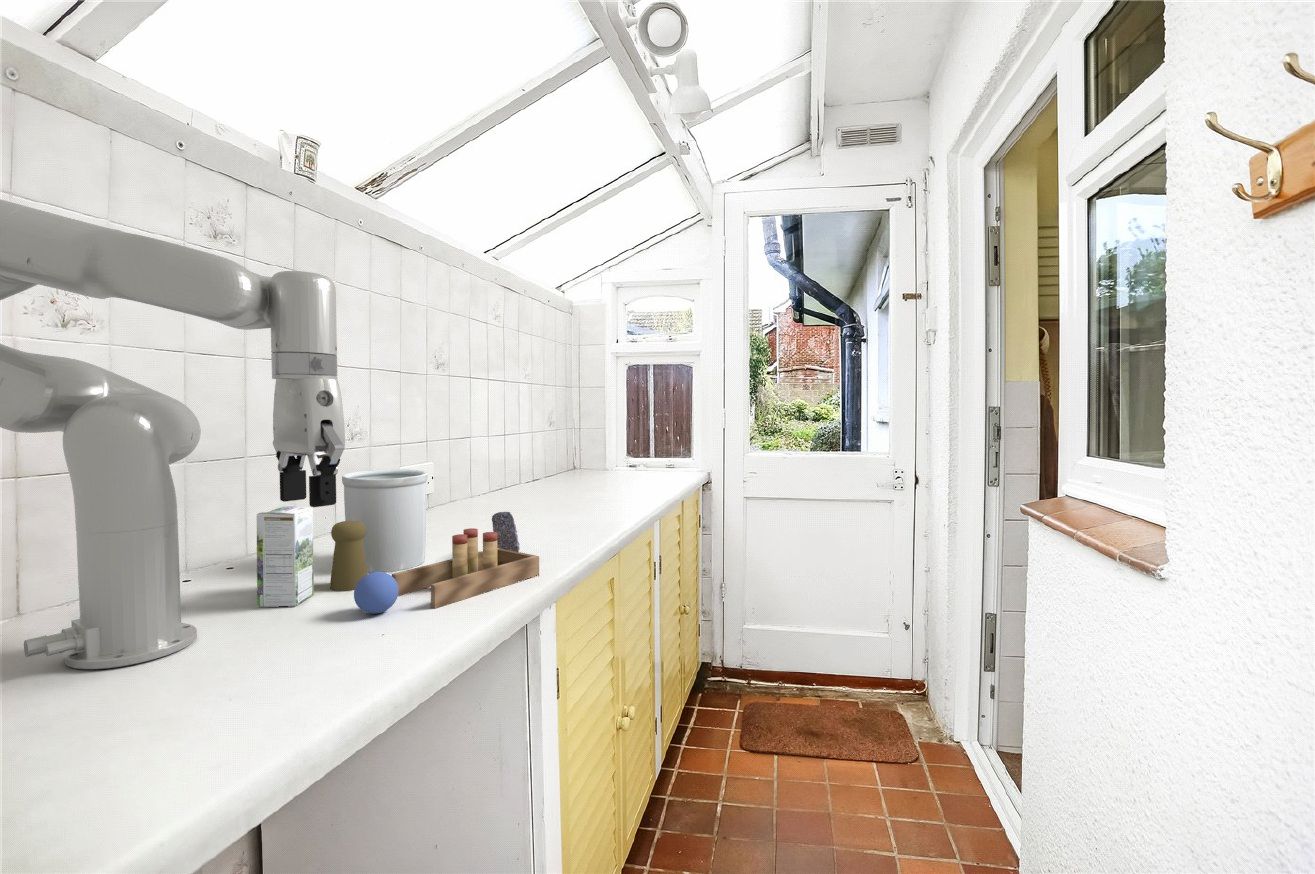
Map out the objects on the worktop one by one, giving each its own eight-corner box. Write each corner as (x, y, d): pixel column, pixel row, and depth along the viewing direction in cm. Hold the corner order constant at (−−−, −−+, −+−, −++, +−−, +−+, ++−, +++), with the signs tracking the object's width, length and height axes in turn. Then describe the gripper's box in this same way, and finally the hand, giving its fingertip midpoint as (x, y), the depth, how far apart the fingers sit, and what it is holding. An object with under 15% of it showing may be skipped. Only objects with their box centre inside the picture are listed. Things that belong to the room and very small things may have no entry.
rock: (522, 564, 119) (522, 513, 118) (493, 567, 117) (493, 514, 116) (514, 550, 130) (514, 503, 129) (488, 552, 128) (487, 504, 127)
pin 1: (470, 582, 107) (469, 531, 106) (460, 579, 108) (460, 530, 107) (481, 578, 109) (480, 529, 108) (472, 576, 110) (471, 527, 109)
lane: (435, 608, 93) (434, 585, 93) (391, 595, 99) (391, 574, 99) (539, 575, 111) (539, 556, 111) (497, 566, 117) (497, 547, 117)
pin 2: (489, 587, 104) (489, 535, 103) (480, 584, 105) (479, 533, 105) (500, 583, 106) (500, 533, 105) (491, 581, 107) (490, 531, 107)
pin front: (459, 590, 102) (458, 538, 101) (449, 588, 103) (449, 536, 102) (470, 587, 104) (470, 535, 103) (461, 584, 105) (460, 533, 104)
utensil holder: (424, 571, 113) (423, 476, 112) (335, 577, 109) (333, 478, 108) (431, 552, 127) (430, 468, 126) (353, 556, 123) (351, 469, 122)
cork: (353, 592, 100) (351, 525, 100) (321, 590, 101) (319, 524, 101) (377, 582, 106) (376, 519, 106) (346, 579, 107) (345, 517, 107)
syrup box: (277, 596, 98) (274, 506, 97) (315, 595, 98) (313, 505, 98) (256, 608, 92) (253, 512, 92) (297, 607, 93) (295, 512, 92)
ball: (369, 622, 87) (368, 580, 86) (345, 614, 90) (345, 573, 90) (407, 610, 92) (406, 571, 91) (383, 603, 95) (383, 565, 95)
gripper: (369, 368, 79) (371, 505, 80) (301, 371, 89) (303, 493, 90) (310, 365, 73) (313, 514, 74) (243, 368, 83) (246, 500, 84)
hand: (307, 501), depth 82 cm, fingers open, 6 cm apart
